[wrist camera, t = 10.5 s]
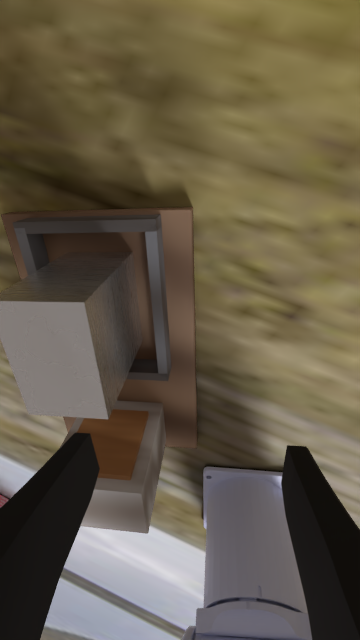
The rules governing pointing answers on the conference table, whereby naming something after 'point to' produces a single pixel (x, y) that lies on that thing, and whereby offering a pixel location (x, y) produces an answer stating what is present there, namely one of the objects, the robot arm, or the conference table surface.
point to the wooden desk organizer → (152, 357)
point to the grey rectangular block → (73, 333)
